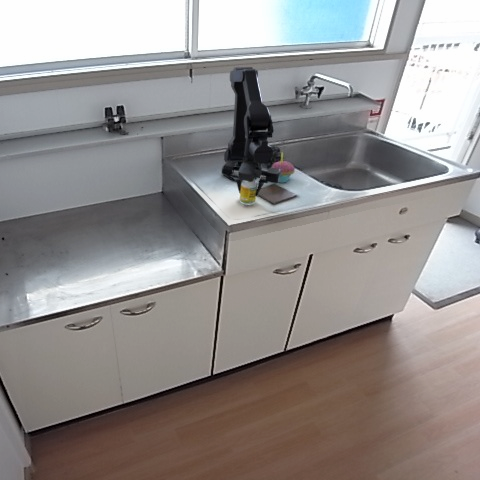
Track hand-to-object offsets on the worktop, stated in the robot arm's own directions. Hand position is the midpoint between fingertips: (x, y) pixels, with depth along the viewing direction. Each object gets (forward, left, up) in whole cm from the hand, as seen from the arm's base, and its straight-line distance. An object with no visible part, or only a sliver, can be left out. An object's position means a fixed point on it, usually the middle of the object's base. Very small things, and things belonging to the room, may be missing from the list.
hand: (248, 194), depth 134 cm
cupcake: (-7, +23, -3) cm, 24 cm away
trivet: (+1, +12, -3) cm, 12 cm away
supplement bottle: (0, 0, -3) cm, 3 cm away
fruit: (-21, +31, -3) cm, 37 cm away
